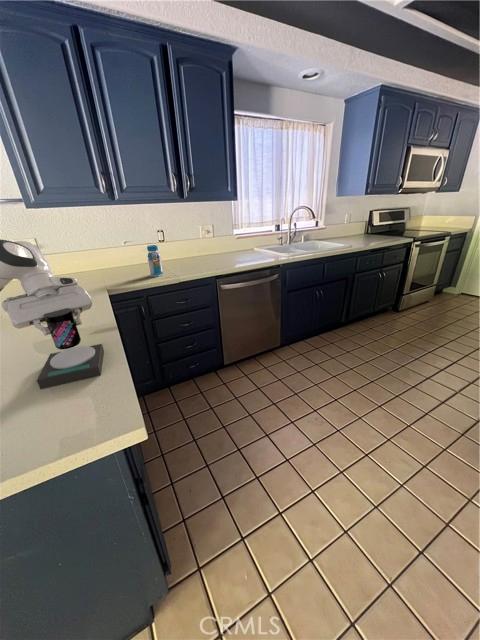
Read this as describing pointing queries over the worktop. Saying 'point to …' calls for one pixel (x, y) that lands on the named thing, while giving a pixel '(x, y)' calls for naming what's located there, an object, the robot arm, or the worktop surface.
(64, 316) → the supplement container
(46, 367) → the scale
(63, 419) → the worktop surface
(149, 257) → the beverage bottle
